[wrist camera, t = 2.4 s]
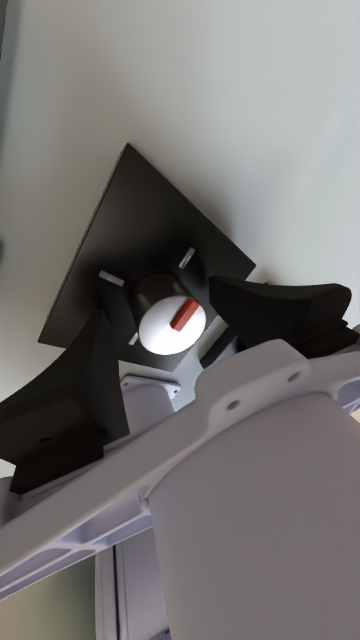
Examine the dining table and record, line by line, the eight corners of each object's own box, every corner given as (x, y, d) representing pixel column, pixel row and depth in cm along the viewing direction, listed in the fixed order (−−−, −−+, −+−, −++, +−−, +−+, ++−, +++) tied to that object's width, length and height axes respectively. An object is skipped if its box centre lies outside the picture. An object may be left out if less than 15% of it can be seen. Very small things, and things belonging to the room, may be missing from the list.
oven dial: (166, 330, 15) (182, 364, 12) (118, 312, 12) (124, 349, 10) (195, 289, 14) (221, 315, 11) (149, 261, 11) (166, 285, 8)
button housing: (243, 374, 29) (258, 393, 26) (199, 361, 23) (212, 384, 21) (301, 314, 26) (325, 329, 23) (265, 282, 20) (291, 296, 17)
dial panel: (163, 351, 20) (173, 373, 18) (46, 317, 14) (36, 344, 12) (235, 255, 17) (258, 266, 14) (120, 151, 10) (128, 140, 8)
